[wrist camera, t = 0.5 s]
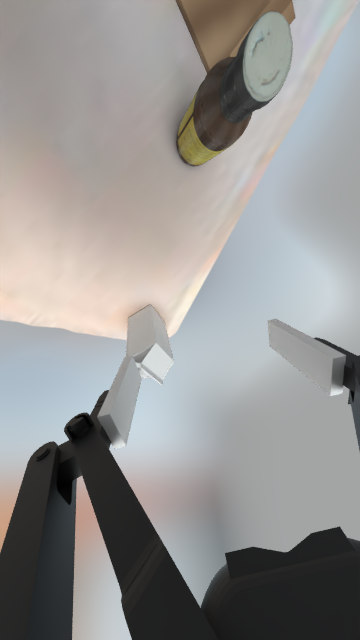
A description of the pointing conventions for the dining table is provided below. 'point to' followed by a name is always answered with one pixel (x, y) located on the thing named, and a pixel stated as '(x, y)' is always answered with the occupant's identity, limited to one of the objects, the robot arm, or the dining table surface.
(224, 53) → the walnut slotted rack
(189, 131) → the sauce bottle
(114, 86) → the dining table surface
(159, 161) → the dining table surface
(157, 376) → the milk carton
